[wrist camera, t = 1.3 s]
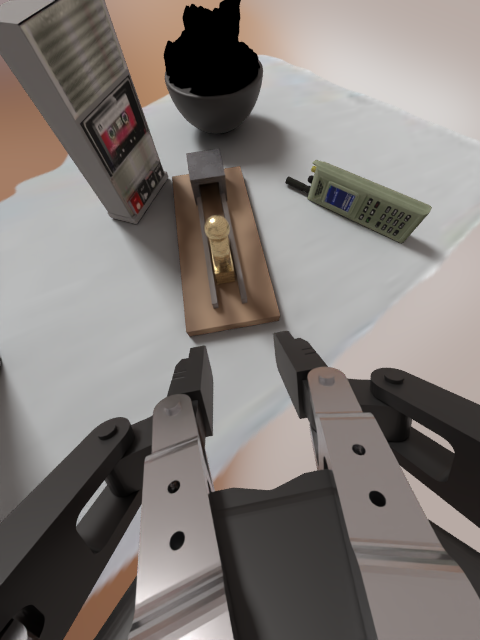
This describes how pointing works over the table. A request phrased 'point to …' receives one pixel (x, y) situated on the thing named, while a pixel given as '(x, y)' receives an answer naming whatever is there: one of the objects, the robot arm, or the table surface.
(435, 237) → the table surface
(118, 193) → the cassette tape recorder
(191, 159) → the steel keeper
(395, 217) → the handheld radio
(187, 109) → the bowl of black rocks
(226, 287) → the wooden track base
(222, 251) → the brass bolt
